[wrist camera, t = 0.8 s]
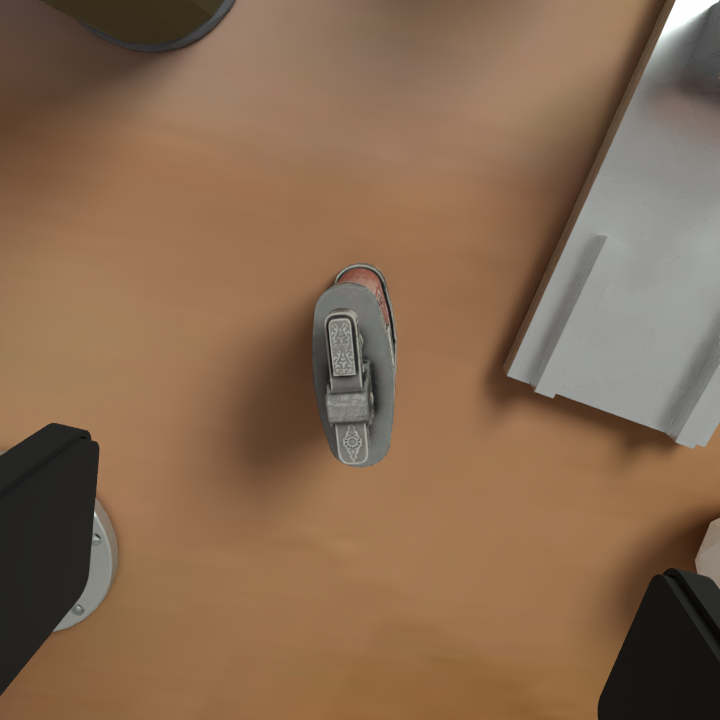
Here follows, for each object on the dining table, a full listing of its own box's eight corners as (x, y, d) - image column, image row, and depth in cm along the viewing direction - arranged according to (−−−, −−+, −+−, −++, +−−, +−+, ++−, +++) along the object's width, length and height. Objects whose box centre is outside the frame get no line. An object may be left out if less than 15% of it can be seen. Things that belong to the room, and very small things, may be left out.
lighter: (401, 405, 32) (399, 495, 23) (341, 408, 32) (314, 498, 23) (391, 260, 30) (383, 291, 20) (326, 265, 30) (290, 298, 21)
